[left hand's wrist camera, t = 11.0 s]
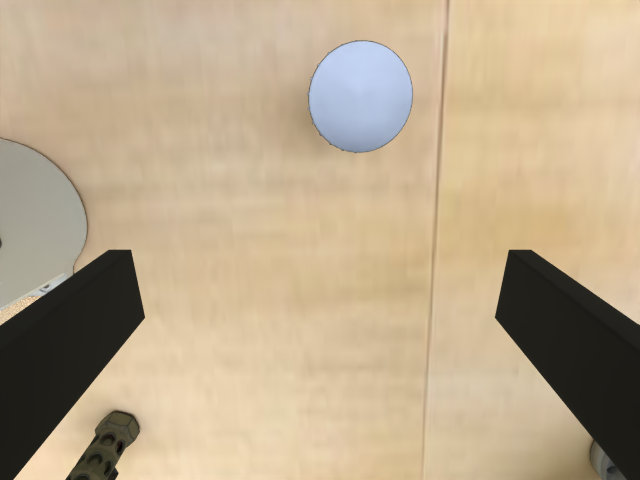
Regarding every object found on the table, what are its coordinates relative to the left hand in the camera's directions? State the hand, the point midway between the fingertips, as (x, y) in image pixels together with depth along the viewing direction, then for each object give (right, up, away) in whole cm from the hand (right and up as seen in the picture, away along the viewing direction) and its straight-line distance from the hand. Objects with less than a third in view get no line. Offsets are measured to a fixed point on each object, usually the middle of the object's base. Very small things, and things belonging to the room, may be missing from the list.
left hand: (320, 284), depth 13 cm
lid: (+2, +9, +5) cm, 10 cm away
